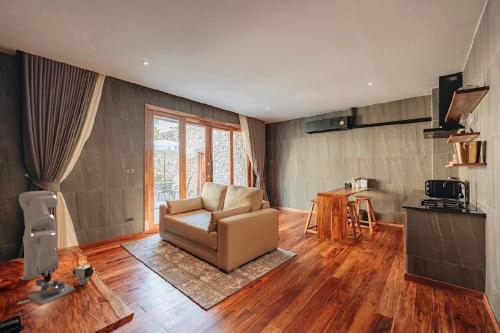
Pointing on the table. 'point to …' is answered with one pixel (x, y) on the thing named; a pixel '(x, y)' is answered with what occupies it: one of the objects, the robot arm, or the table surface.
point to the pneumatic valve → (83, 273)
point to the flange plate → (45, 299)
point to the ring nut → (50, 287)
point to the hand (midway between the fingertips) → (47, 281)
